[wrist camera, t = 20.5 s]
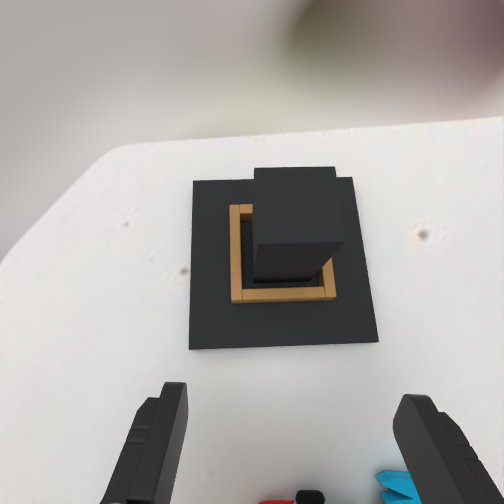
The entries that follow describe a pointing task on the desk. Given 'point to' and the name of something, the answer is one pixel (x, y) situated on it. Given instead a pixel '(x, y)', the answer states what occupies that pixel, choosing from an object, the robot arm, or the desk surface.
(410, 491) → the toy figure
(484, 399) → the desk surface
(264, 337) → the pad
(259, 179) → the block
